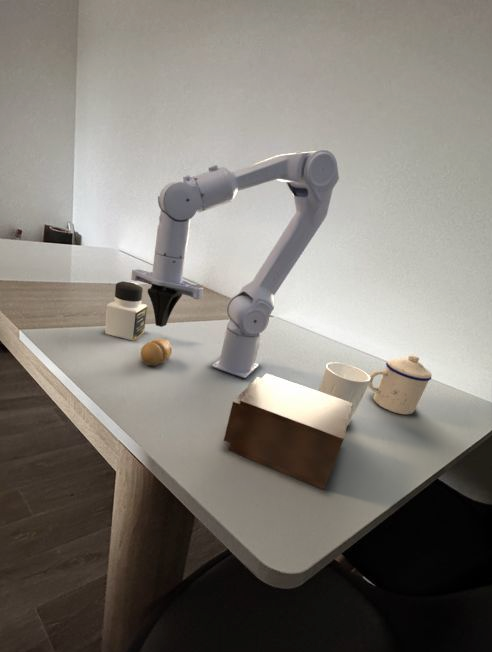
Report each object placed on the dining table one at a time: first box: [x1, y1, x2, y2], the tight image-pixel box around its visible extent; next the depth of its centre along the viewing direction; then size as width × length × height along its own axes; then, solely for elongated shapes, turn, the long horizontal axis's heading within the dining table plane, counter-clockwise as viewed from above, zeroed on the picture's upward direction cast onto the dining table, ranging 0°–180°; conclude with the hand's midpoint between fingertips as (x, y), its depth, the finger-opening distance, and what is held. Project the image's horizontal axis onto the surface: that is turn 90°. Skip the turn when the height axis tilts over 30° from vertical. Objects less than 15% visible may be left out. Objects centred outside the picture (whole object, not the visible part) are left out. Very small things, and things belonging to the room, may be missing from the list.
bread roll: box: [140, 337, 173, 366], centre depth 81 cm, size 8×5×5 cm, turn 156°
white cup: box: [318, 362, 371, 427], centre depth 72 cm, size 8×8×10 cm
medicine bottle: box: [104, 280, 148, 341], centre depth 91 cm, size 7×7×12 cm
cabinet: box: [227, 372, 353, 491], centre depth 60 cm, size 15×13×9 cm
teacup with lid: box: [367, 354, 433, 415], centre depth 83 cm, size 12×9×12 cm
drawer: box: [223, 376, 262, 444], centre depth 61 cm, size 15×11×7 cm
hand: (160, 325), depth 78 cm, fingers closed
